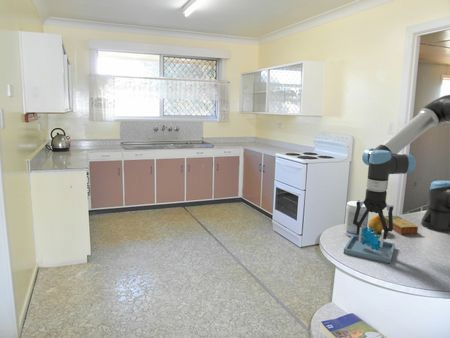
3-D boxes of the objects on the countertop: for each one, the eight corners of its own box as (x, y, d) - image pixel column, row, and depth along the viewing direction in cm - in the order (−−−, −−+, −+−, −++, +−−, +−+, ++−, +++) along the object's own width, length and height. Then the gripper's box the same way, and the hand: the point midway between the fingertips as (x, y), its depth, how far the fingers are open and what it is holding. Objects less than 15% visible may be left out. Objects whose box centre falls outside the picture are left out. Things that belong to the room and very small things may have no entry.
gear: (372, 250, 138) (360, 226, 142) (360, 256, 142) (349, 233, 146) (388, 247, 144) (376, 225, 149) (377, 253, 148) (365, 231, 153)
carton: (400, 235, 163) (401, 227, 162) (380, 223, 178) (381, 215, 177) (417, 235, 164) (418, 226, 163) (396, 222, 179) (397, 214, 179)
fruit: (384, 232, 159) (386, 215, 161) (365, 229, 163) (367, 213, 166) (387, 236, 165) (389, 219, 168) (368, 233, 170) (370, 217, 172)
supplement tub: (370, 238, 158) (374, 206, 155) (351, 239, 156) (354, 207, 153) (358, 230, 167) (361, 200, 164) (339, 231, 165) (342, 201, 162)
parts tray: (394, 248, 148) (395, 243, 147) (389, 264, 133) (390, 259, 133) (352, 239, 156) (352, 235, 156) (343, 253, 142) (343, 248, 141)
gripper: (347, 187, 141) (342, 241, 146) (404, 195, 131) (397, 253, 136) (351, 183, 148) (346, 235, 152) (406, 191, 138) (398, 246, 142)
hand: (370, 243), depth 144 cm, fingers closed on gear, 7 cm apart
